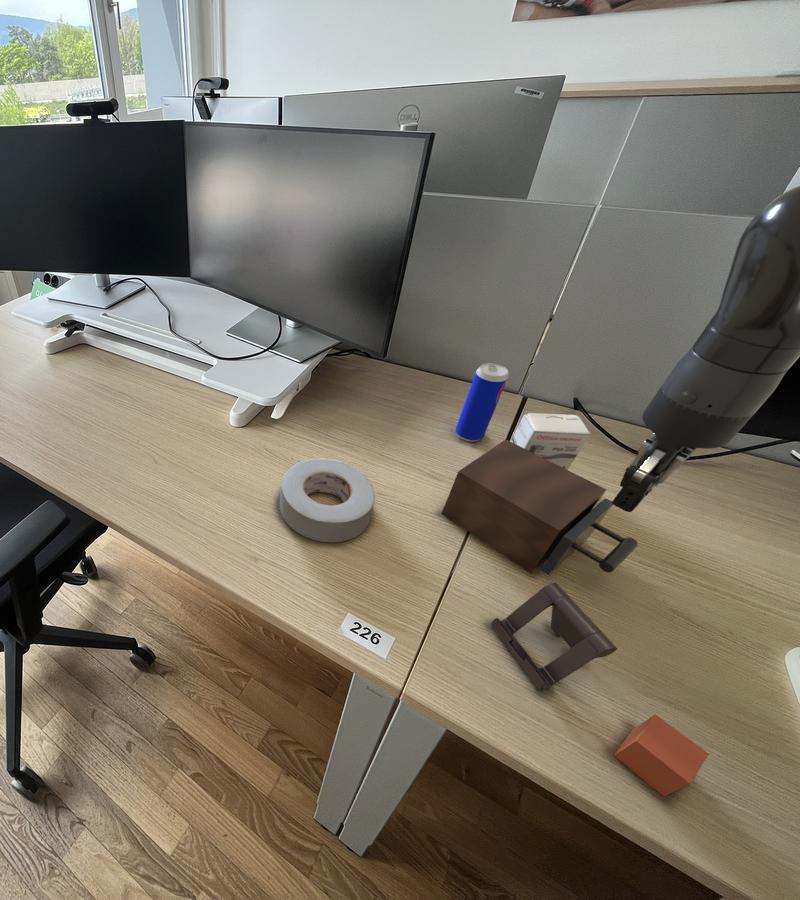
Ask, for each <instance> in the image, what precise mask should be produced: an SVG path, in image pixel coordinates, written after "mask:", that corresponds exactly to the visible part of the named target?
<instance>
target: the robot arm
mask: <svg viewBox="0 0 800 900" xmlns="http://www.w3.org/2000/svg"><path fill="white" fill-rule="evenodd" d="M799 358H800V185H797V186H795V187H793V188H791V189H789V190H787V191H785V192H783V193H781V194H780V195H778V196H776V197H775V198H774V199H773V200H772V201H770V202H769V203H767V204H766V205H765V206H764V207H763V208H762V209H761V210H759V212H758V213H757V214H756V215H755V216H754V217H753V218H752V219H751V220H750V222H749V223H748V224H747V226H746V227H745V229H744V231H743V233H742V234H741V236H740V238H739V240H738V243H737V246H736V248H735V252H734V255H733V259H732V262H731V265H730V268H729V273H728V274H727V278H726V281H725V284H724V287H723V290H722V295H721V299H720V302H719V305H718V308H717V310H716V311H715V313H714V314H713V316H712V317H711V318H710V320H709V321H708V323H707V325H706V326H705V327H704V329H703V330H702V332H701V333H700V335H699V336H698V338H697V339H696V341H695V342H694V343H693V345H692V346H691V347H690V348H689V350H688V351H686V353H685V354H684V355H683V356H682V357H681V358H680V359H679V360H678V361H677V363H676V364H675V365H674V367H673V368H672V369H671V371H670V373H669V374H668V375H667V377H666V379H665V380H664V381H663V383H662V384H661V386H660V388H659V389H658V390H657V392H656V393H655V394H654V396H653V397H652V399H651V401H650V402H649V404H647V406H646V408H645V409H644V410H643V412H642V416H641V418H642V422H643V424H644V425H645V427H646V428H648V430H650V431H651V432H652V433H653V434H651V436H650V437H647V438H646V439H645V440H644V441H643V442H642V443H641V445H640V446H639V447H638V449H637V455H636V456H635V458H634V459H633V460H632V462H631V463H630V465H629V466H627V467H626V468H625V472H624V474H623V476H622V479H621V481H620V482H619V483H620V484H619V486H620V487H621V489H620V490H619V491H618V493H617V494H616V495H615V497H614V498H613V500H611V501H612V503H613V506H615V507H617V508H618V509H620V510H622V511H624V512H626V513H632V512H633V511H634V510H635V509H636V508H638V506H639V505H640V504H641V502H642V501H643V500H644V499H645V498H646V496H648V495H649V493H652V491H653V490H654V488H655V487H658V486H659V485H660V484H663V483H664V482H665V481H666V480H667V479H668V478H669V477H670V476H671V475H673V474H674V472H676V470H677V469H679V467H681V466H682V465H683V464H684V463H685V462H686V460H688V459H689V458H690V457H691V456H693V454H694V453H695V452H696V451H697V450H698V449H701V450H703V449H704V450H710V449H718V448H721V447H724V446H726V445H728V444H729V443H730V442H731V441H732V440H733V439H734V438H735V437H736V435H737V434H738V433H739V432H740V431H741V430H742V429H743V428H744V426H745V425H746V424H747V423H748V421H750V419H752V418H753V416H754V415H755V414H756V413H757V411H758V410H759V409H760V408H761V407H762V406H763V405H764V403H766V401H767V400H768V399H769V398H770V397H771V396H772V394H773V393H774V392H775V391H776V389H777V387H778V386H779V385H780V382H781V381H782V379H783V378H784V376H785V375H786V373H787V372H788V371H789V369H790V368H792V366H793V365H794V364H795V363H796V361H797V360H799Z"/></svg>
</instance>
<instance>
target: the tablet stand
mask: <svg viewBox="0 0 800 900" xmlns="http://www.w3.org/2000/svg"><path fill="white" fill-rule="evenodd" d="M550 607H552V608H551V616H550V629H551V630H552V632H553V633H554V634H555V635H556V637H558V638H560V637H561V638H562V639H563V641H564V642H565V643H566V644H567V645H568V647H569V649H568V650H566V651H565V652H563V653H562V654H561V655H559V656H558V657H556V658H555V659H553V660H551V661H550V662H549V663H547V664H546V665H544V666H542V667H540V668H539V667H538V666H537V665H536V663H535V662H534V660H533V659H532V658H531V657H530V655H529V654H528V652H527V651H526V650H525V648H523V646H522V645H521V643H520V642H519V641H518V640H517V638H516V637H515V636H514V634H515V633H517V632H518V631H520V630H521V629H522V628H523V627H524V626H526V625H527V624H528V623H530V622H531V621H532V620H534V619H535V618H536V617H538V616H539V615H540V614H541V613H543V612H544V611H545V610H546V609H548V608H550ZM490 626H491V627H492V629H493V630H494V631H495V632H496V634H497V635H498V636H499V638H500V639H501V640H502V642H503V643H504V645H505V646H506V648H507V649H508V651H509V652H510V653H511V655H513V657H514V658H515V660H516V661H517V662H518V664H519V665H520V667H521V668H522V670H524V672H525V673H526V675H527V676H528V677H529V679H530V680H531V681H532V683H533V684H534V685H535V687H536V688H537V689H538V690H539V691H544V690H547V689H550V688H551V687H553V686H554V685H556V684H558V683H559V682H561V681H562V680H563V679H565V678H567V677H568V676H571V674H573V673H575V672H576V671H578V670H579V669H580V668H582V667H584V666H585V665H587V664H588V663H590V662H592V661H593V660H595V659H600V658H604V657H605V658H606V657H608V656H610V655H612V654H614V653H615V652H617V650H618V647H617V646H616V645H615V644H614V642H612V641H611V639H610V638H608V636H607V635H606V634H605V633H604V632H603V631H602V629H600V627H598V625H597V624H596V623H595V622H594V621H593V620H592V619H591V618H590V617H589V616H588V615H587V613H586V612H585V611H584V610H583V609H582V608H581V607H580V606H579V605H578V604H577V602H575V601H574V599H572V598H571V597H570V595H569V594H568V593H567V592H566V591H565V590H564V589H563V587H562V586H560V585H559V584H558V582H555V581H554V582H550V583H547V584H546V585H544V586H543V587H542V588H541V589H539V590H538V591H537V592H535V593H534V594H533V595H532V596H530V598H528V599H527V600H526V601H524V602H523V603H522V604H521V605H520V606H518V607H517V608H516V609H515V610H514V611H512V612H511V613H510V614H508V615H507V617H505V618H503V619H502V620H500V619H499V618H498V617H497V618H494V619H493V620H492V621H491V622H490Z"/></svg>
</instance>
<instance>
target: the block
mask: <svg viewBox="0 0 800 900" xmlns="http://www.w3.org/2000/svg"><path fill="white" fill-rule="evenodd" d="M613 756H614V757H615V758H616V759H617V760H619V761H620V762H621V763H622V764H623V765H625V767H627V768H628V769H630V770H631V771H632V772H633V773H634V774H636V776H638V777H640V779H641V780H643V781H644V782H645V783H646V784H648V785H649V786H650V787H651V788H653V789H654V790H655V791H656V792H657V793H658V794H660V795H661V796H662V797H665V796H668V795H670V794H672V793H674V792H677V791H678V790H681V789H682V788H684V787H687V786H689V785H691V783H692V782H693V780H694V779H695V778H696V776H697V774H698V772H699V771H700V769H701V768H702V765H703V764H704V763H705V761H706V759H707V758H708V756H710V755H709V752H707V751H706V750H704V749H703V748H702V747H701V746H700V745H699V744H697V743H695V742H694V741H693V740H691V739H690V738H688V737H687V736H686V735H684V734H683V733H682V732H680V731H679V729H676V728H675V727H674V726H672V725H671V724H670V723H668V722H667V721H666V720H664V719H663V718H662V717H660V716H659V715H657V714H656V713H654V714H653V715H652V716H650V717H649V718H648V719H646V720H645V721H643V722H642V723H640V724H638V725H637V726H636V727H634V728H633V729H632V730H631V731H630V732H629V734H628V736H627V737H626V738H625V740H624V741H623V742H622V743H621V745H620V746H619V748H618V749H617V750H616V752H615V753H614V755H613Z"/></svg>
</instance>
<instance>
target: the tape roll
mask: <svg viewBox="0 0 800 900" xmlns="http://www.w3.org/2000/svg"><path fill="white" fill-rule="evenodd" d="M280 483H281V484H280V493H279V494H280V495H279V511H280V515H281V517H282V519H283V520H284V521H285V523H286V524H287V525H288V526H289V527H290V528H291V529H292V530H293V531H294V532H296V533H297V534H299V535H301V536H302V537H305V538H306V539H309V540H313V541H316V542H322V543H341V542H346V541H349V540H353V539H355V538H356V537H358V536H359V535H361V534H362V533H363V532H364V531H365V530H366V529H367V527H368V525H369V524H370V520H371V516H372V512H373V508H374V505H375V499H376V495H375V491H374V487H373V483H372V482H371V480H370V479H369V478H368V477H367V475H366V474H365V473H363V472H362V471H361V470H360V469H358V468H357V467H356V466H354V465H351V464H349V463H346V462H344V461H340V460H337V459H332V458H323V457H322V458H321V457H319V458H311V459H307V460H302V461H300V462H298V463H296V464H294V465H293V466H291V467H289V468H288V470H287V471H286V472H285V473H284V475H283V477H282V480H281V482H280ZM314 493H328V494H330V495H333V496H335V497H337V498H338V499H340V500H341V501H342V503H339V504H332V505H331V504H323V503H320V502H318V501H315V500H313V499H312V498H311V497H310V495H312V494H314Z"/></svg>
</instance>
